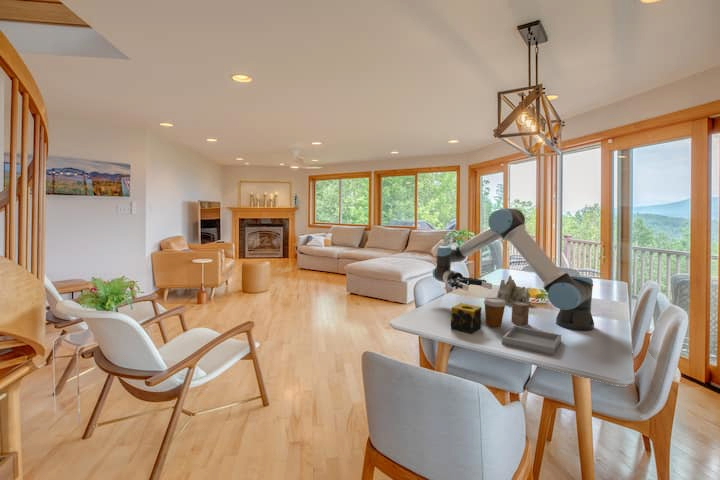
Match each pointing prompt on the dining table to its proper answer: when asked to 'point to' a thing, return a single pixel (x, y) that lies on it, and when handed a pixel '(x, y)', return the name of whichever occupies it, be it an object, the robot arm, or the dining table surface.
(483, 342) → the dining table surface
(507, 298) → the grey jagged rock
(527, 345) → the slate tray
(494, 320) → the disposable coffee cup
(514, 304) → the walnut block
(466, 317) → the tissue box
